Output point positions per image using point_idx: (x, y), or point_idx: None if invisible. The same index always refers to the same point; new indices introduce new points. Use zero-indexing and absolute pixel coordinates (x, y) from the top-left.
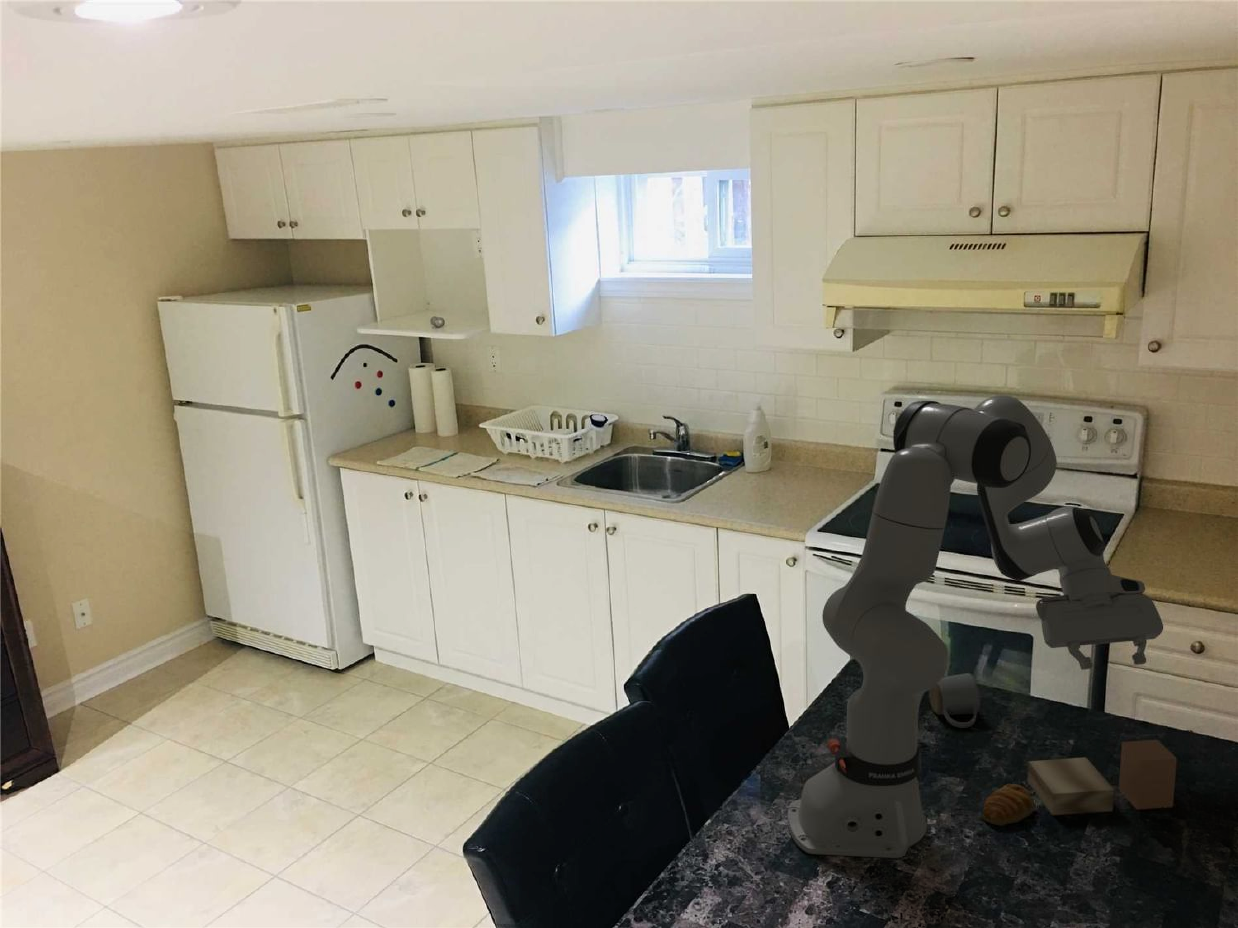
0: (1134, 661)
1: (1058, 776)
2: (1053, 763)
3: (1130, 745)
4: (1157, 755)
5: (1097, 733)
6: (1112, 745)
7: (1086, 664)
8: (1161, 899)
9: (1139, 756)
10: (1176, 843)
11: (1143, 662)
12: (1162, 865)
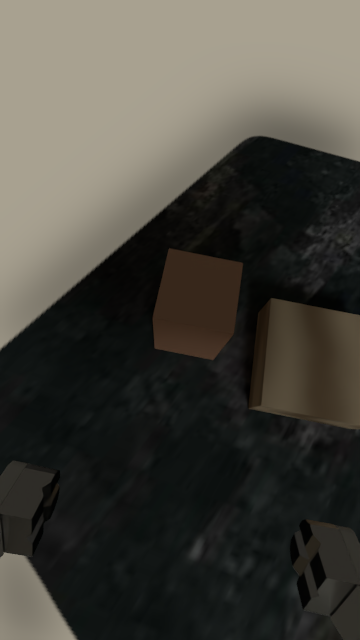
0: (51, 509)
1: (344, 361)
2: (333, 405)
3: (224, 316)
4: (197, 267)
5: (119, 566)
6: (124, 502)
7: (343, 532)
8: (300, 167)
9: (233, 276)
10: (220, 231)
11: (30, 464)
12: (264, 206)
